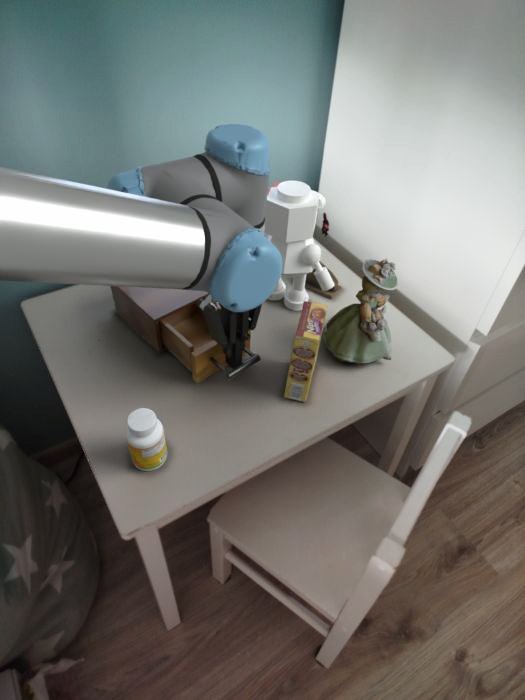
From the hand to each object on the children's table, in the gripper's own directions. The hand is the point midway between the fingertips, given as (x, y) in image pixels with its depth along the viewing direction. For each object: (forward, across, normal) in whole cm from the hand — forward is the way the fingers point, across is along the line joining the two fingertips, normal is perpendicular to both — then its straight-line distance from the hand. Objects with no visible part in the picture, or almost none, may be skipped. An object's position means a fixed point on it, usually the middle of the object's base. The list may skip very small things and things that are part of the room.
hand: (233, 364), depth 80 cm
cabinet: (+4, 0, +22) cm, 22 cm away
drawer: (+3, 0, +7) cm, 8 cm away
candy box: (+4, +9, -8) cm, 13 cm away
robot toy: (+4, +24, +11) cm, 26 cm away
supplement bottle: (+4, -20, -4) cm, 21 cm away
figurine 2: (+4, +32, +11) cm, 34 cm away
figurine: (+4, +23, -9) cm, 25 cm away
